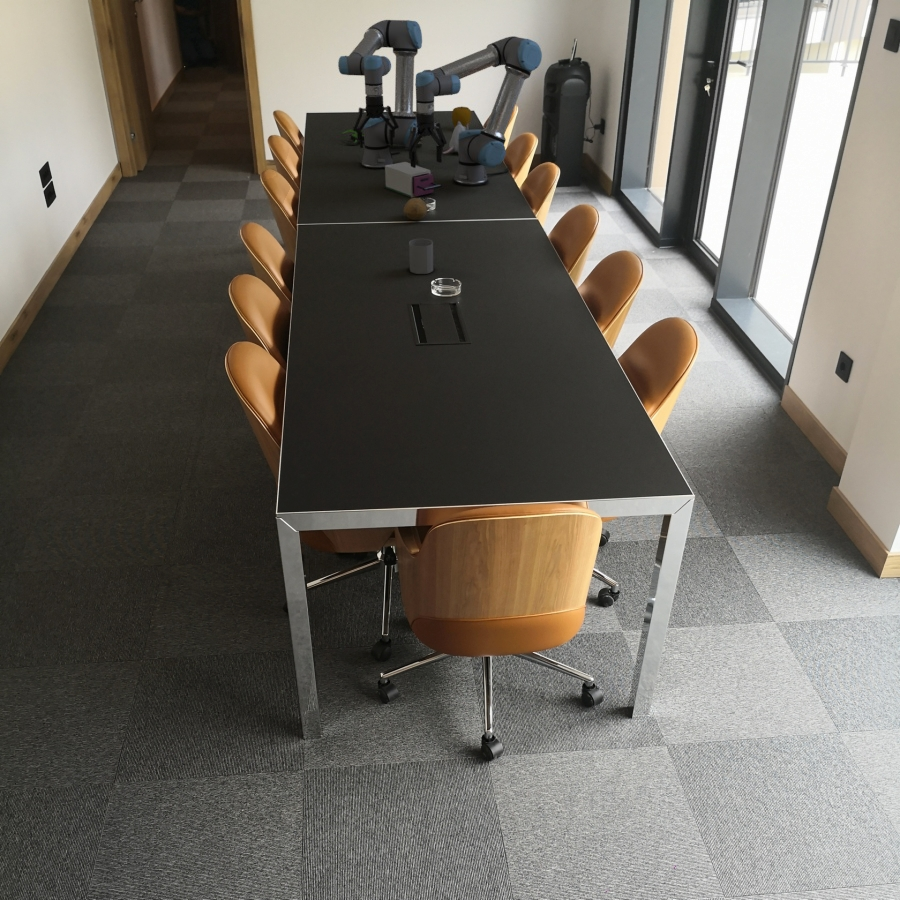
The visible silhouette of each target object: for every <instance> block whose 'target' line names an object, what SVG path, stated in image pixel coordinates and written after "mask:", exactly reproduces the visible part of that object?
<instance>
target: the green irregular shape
mask: <svg viewBox="0 0 900 900" xmlns="http://www.w3.org/2000/svg"><path fill="white" fill-rule="evenodd" d="M349 132H352V133H351V134H349V136H350V138H349V140H350V141H353V142H348V141H345V140H342V139H340V142H342V143H344V144H345V145H349V146H356V145H358V144H360V141H359V140H358V139H357V132H356V131H353V130H352V129H346V130H345V131H342V132H340V134H345V133H349ZM362 142H364V133H362Z"/></svg>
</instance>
